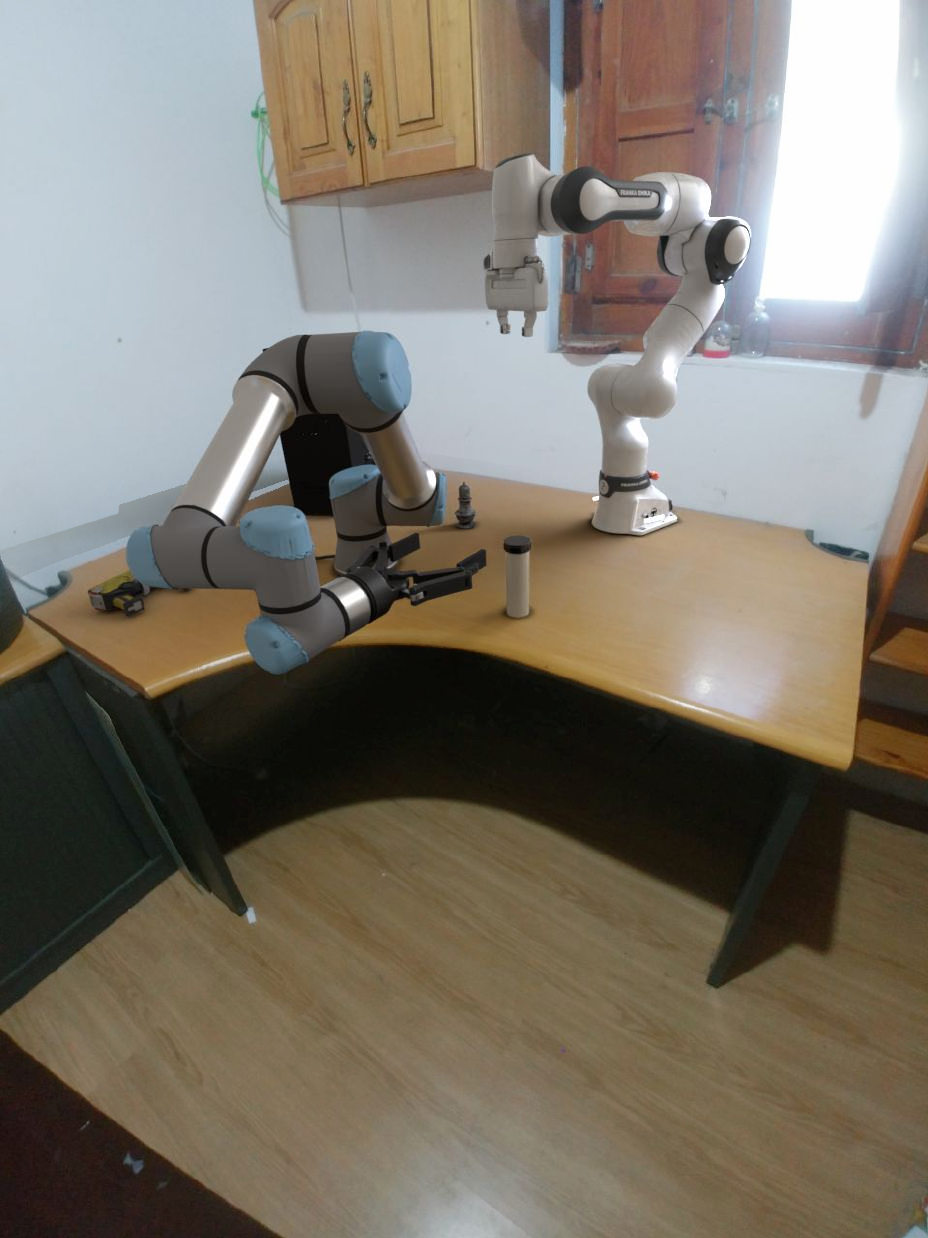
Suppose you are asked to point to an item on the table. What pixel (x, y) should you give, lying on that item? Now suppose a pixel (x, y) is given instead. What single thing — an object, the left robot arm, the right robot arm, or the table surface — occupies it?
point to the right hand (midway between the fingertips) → (516, 335)
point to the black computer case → (319, 458)
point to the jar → (517, 584)
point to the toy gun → (120, 594)
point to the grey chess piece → (465, 508)
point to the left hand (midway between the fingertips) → (450, 548)
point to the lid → (517, 544)
